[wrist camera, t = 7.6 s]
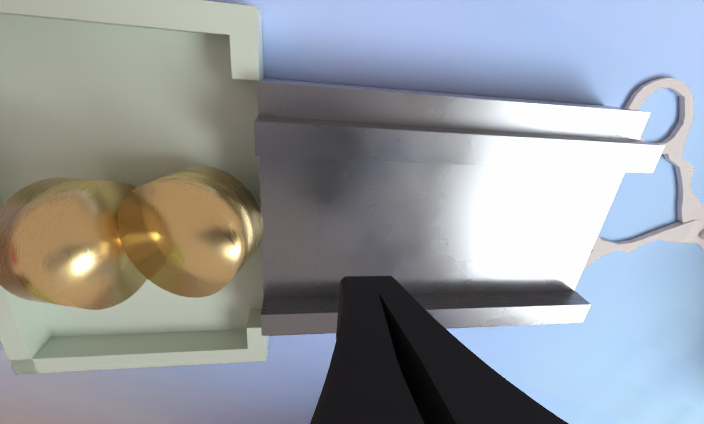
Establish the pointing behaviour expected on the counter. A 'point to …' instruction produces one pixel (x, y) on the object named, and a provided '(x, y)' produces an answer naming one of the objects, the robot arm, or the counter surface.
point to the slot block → (434, 200)
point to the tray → (131, 160)
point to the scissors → (691, 214)
